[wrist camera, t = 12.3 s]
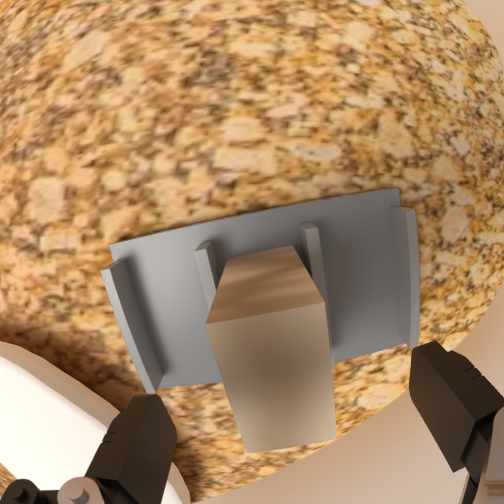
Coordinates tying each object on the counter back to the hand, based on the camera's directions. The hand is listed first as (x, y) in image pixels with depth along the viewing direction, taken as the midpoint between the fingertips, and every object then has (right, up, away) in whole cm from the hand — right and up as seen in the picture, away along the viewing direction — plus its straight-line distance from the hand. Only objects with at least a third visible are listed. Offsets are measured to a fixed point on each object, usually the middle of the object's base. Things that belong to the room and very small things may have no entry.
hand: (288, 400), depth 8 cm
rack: (0, +2, +10) cm, 10 cm away
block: (0, +2, +9) cm, 9 cm away
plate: (-20, -15, +14) cm, 29 cm away
